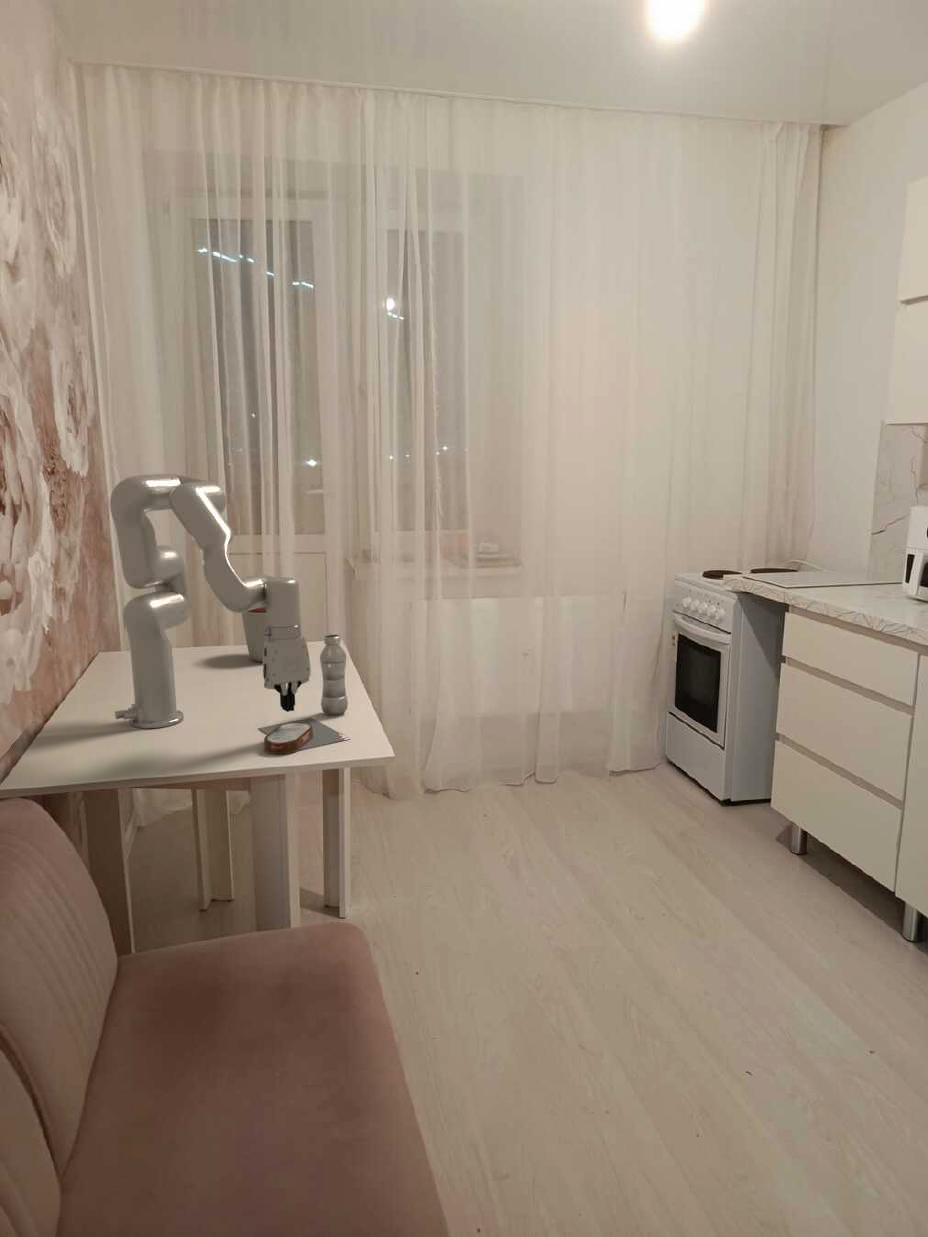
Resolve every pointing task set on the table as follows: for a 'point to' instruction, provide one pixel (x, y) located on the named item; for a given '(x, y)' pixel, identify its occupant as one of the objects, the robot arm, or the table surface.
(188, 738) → the table surface
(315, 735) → the mat
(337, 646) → the plastic bottle
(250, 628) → the canister
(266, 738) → the tin
